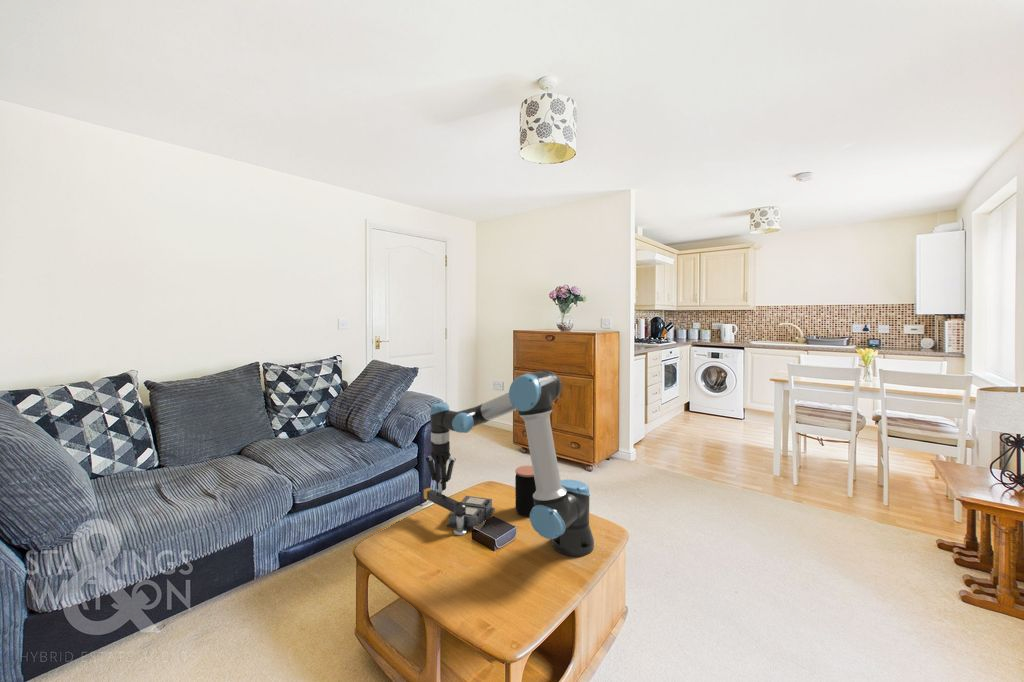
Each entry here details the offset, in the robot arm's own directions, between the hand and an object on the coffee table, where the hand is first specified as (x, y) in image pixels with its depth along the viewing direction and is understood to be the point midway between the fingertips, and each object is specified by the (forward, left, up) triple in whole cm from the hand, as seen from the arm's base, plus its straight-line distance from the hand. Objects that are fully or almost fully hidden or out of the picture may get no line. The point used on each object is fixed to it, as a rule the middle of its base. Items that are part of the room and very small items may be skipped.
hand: (441, 497), depth 170 cm
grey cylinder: (-12, +9, -9) cm, 18 cm away
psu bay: (-12, -2, -9) cm, 15 cm away
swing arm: (-4, +5, -1) cm, 6 cm away
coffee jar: (-33, -14, -9) cm, 37 cm away
